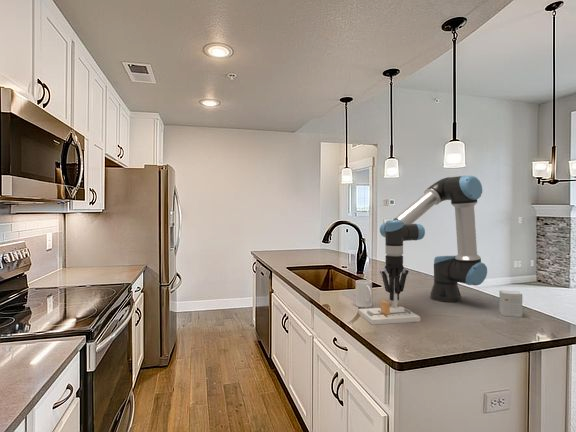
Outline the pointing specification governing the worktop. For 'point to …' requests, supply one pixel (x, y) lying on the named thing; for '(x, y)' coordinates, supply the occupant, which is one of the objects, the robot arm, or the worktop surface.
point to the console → (388, 315)
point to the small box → (510, 303)
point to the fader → (385, 307)
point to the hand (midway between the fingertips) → (394, 307)
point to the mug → (363, 293)
